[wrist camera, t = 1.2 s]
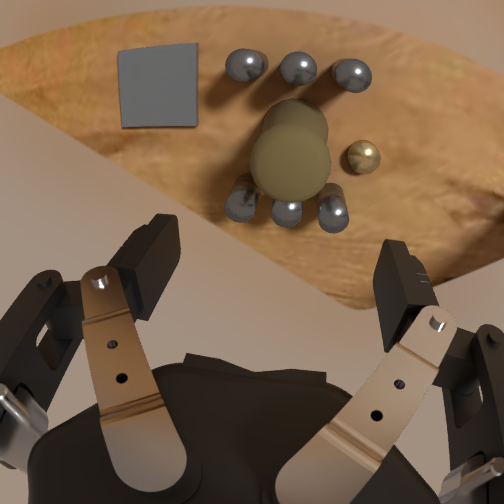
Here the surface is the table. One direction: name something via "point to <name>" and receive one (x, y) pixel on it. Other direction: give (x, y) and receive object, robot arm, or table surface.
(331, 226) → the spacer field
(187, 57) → the coaster
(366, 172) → the glossy gold bead
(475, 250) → the table surface
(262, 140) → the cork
